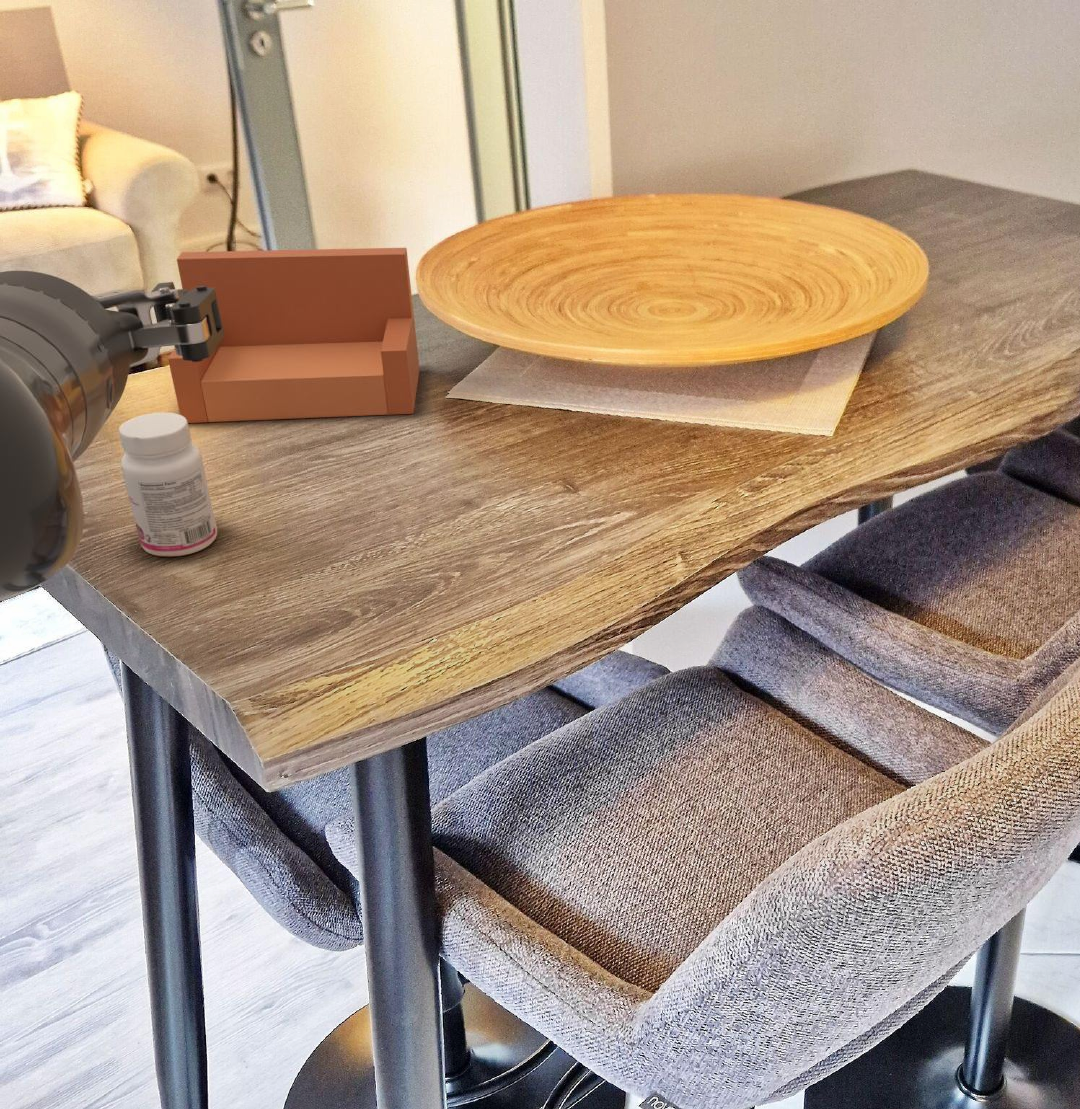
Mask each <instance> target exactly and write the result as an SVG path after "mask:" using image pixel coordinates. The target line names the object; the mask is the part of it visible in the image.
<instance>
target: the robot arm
mask: <svg viewBox="0 0 1080 1109" xmlns="http://www.w3.org/2000/svg"><path fill="white" fill-rule="evenodd" d="M111 308H116V309H117V310H110V309H111ZM152 308H153V311H154V316H155V320H156V322H155V323H153V320H152V316H151V310H152ZM224 337H225V334H224V329H223V325H222V320H221V316H220V311H219V306H218V302H217V297H216V292H215V288H212V287H208V288H207V286H198V287H196V289H193V290H189V291H188V292H187V290H186V289H183V288H178V289H177V288H176V286H175V283H174V282H173V281H167V282H159V283H157V284H156V285H155V287H154V288H153V289H151V292H147V293H146V292H145V291H143V290H142V289H119V288H118V289H114V290H111V291H106V292H102V293H98V294H93V295H91V294H90V293H88V292H87V291H85V290H84V289H83V288H81V287H79V286H77V285H75V284H74V283H72V282H70V281H68V280H65V279H64V278H60V277H58V276H54V275H53V274H52V275H51V274H47V273H44V272H39V271H31V270H7V271H0V602H2V601H4V600H5V601H6V600H8V599H11V598H14V597H17V596H19V595H22V594H24V593H26V592H29V591H31V590H33V589H35V588H37V587H38V586H41V585H42V584H44V583H45V582H46V581H48V580H49V579H51V578H52V577H54V576H55V575H57V574H59V572H60V571H62V570H63V569H64V568H65V567H66V566H67V565H68V564H69V563H70V562H71V561H72V559H73V557H74V556H75V554H76V553H77V551H78V549H79V547H80V544H81V541H82V537H83V534H84V521H85V513H84V502H83V495H82V491H81V486H80V481H79V477H78V474H77V469H76V467H75V464H74V462H75V461H77V459H79V458H80V457H81V456H82V455H83V454H84V453H85V451H86V450H87V449H88V448H89V447H90V445H91V444H92V443H93V441H94V440H95V439H96V437H97V436H98V434H99V433H100V431H101V430H102V428H103V426H104V425H105V423H106V422H107V420H108V419H109V418H110V416H111V414H112V413H113V411H114V410H115V409H116V407H117V405H118V404H119V402H120V400H121V398H122V396H123V394H124V392H125V389H126V385H127V382H128V379H129V374H130V373H129V372H130V368H132V367H136V366H138V365H142V364H146V363H149V362H152V361H154V360H156V359H158V357H159V355H160V350H161V348H162V347H173V346H174V349H175V351H176V355H178V356H182V358H183V360H186V361H192V362H199V361H203V359H205V358H208V357H210V356H211V354H212V353H213V352H214V350H215V349H216V348H217V346H218V345H219V344H220V342H221V341H222V340H223V338H224Z"/></svg>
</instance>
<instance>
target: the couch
mask: <svg viewBox="0 0 1080 1109" xmlns="http://www.w3.org/2000/svg"><path fill="white" fill-rule="evenodd" d="M176 263H177V267H178V272H179V278H180V279H179V280H180V282H181V287H182V288H181V289H186V290H187V292H188V291H189V290H193V289H196V287H198V286H207V288H208V287H212V288H215V292H216V297H217V302H218V306H219V311H220V316H221V320H222V325H223V329H224V334H225V337H224V338H223V340H222V341H221V342H220V344H219V345H218V346H217V348H216V349H215V350H214V352H213V353H212V354H211V356H210V357H208V358H205V359H203V361H199V362H192V361H186V360H183V358H182V356H178V355H176V351H175V348H174V349H173V350H172V351H171V353H170V355H169V356H168V358H167V360H168V365H169V369H170V374H171V379H172V384H173V388H174V393H175V397H176V403H177V407H178V411H179V415H182V416H183V417H185V418H186V420H187V422H188V424H196V423H197V424H199V423H221V422H223V423H224V422H246V421H267V420H269V421H270V420H290V419H315V418H336V417H337V418H338V417H340V418H341V417H342V418H343V417H359V416H360V417H362V416H363V417H364V416H385V415H412V414H414V412H415V405H416V397H417V391H418V384H419V377H420V370H421V369H420V360H419V359H420V358H419V351H418V350H419V349H418V341H417V333H416V326H415V325H416V322H415V314H414V306H413V305H414V304H413V296H412V295H413V294H412V286H411V275H410V268H409V258H408V249H407V247H378V248H377V247H373V248H372V247H370V248H367V247H366V248H324V249H323V248H321V249H319V248H318V249H317V248H316V249H276V250H275V249H274V250H273V249H271V250H269V249H267V250H229V251H228V250H224V251H223V250H222V251H221V250H219V251H182V252H181V253H179V255H178V256H177V258H176Z"/></svg>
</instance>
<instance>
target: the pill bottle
mask: <svg viewBox="0 0 1080 1109" xmlns="http://www.w3.org/2000/svg"><path fill="white" fill-rule="evenodd" d="M118 432H119V438H120V443H121V447H122V449H123V451H124V455H123V456H122V458H121V461H120V465H121V473H122V476H123V480H124V484H125V489H126V492H127V496H128V500H129V504H130V509H131V512H132V516H133V520H134V524H135V528H136V532H137V535H138V539H139V543H140V546H141V548H142V549H143V550H144V551H145V552H146V553H148V554H150V555H153V556H157V557H181V556H186V555H187V556H188V555H191V554H194V553H198V552H199V551H202V550H204V549H206V548H207V547H209V546H210V545H211V544H212V543H213V542H214V541H215V539H216V538H217V537H218V526H217V522H216V518H215V514H214V510H213V504H212V500H211V495H210V490H209V486H208V480H207V476H206V471H205V466H204V461H203V457H202V453H201V451H200V449H199V447H197V446H196V445H195V444H194V443H192V442H193V440H192V437H191V436H192V435H191V431H190V426H189V423H188V422H187V420H186V418H185V417H183V416H182V415H180V413H174V412H153V413H145V414H142V415H138V416H134V417H133V418H130V419H127V420H126V421H125V422H123V423H122V424H121V425H120V426H119V429H118Z"/></svg>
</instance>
